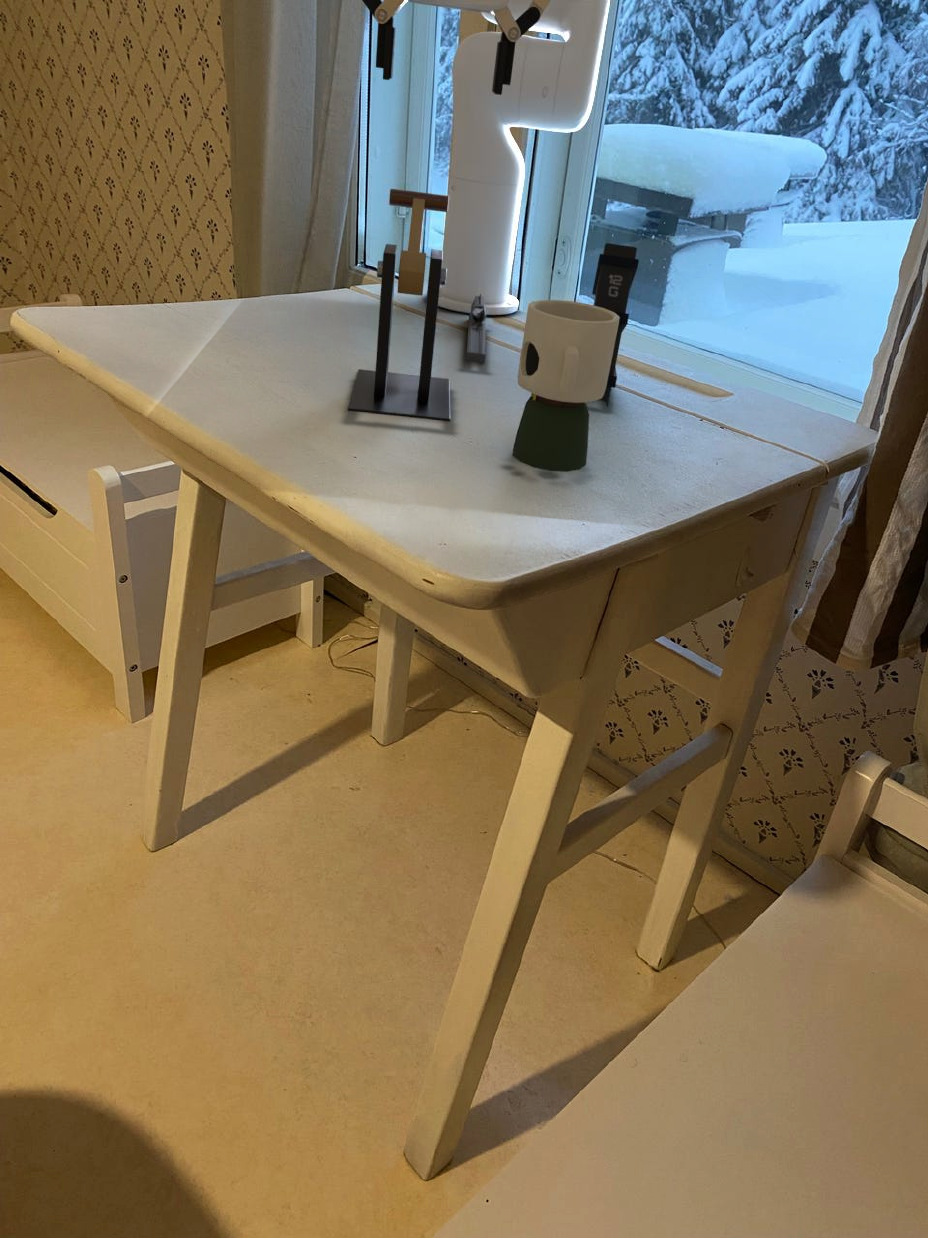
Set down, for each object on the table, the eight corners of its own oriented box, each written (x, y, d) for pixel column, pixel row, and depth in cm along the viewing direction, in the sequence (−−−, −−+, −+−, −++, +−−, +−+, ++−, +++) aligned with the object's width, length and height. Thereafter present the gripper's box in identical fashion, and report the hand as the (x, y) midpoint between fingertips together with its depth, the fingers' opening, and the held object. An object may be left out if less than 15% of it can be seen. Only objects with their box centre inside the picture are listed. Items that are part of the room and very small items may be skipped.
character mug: (505, 441, 82) (527, 289, 76) (584, 451, 83) (613, 300, 76) (504, 488, 73) (528, 320, 66) (593, 500, 73) (627, 333, 67)
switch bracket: (357, 381, 92) (366, 233, 85) (448, 391, 93) (464, 245, 86) (347, 422, 82) (355, 257, 75) (448, 433, 83) (466, 270, 76)
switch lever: (389, 204, 89) (390, 180, 87) (447, 211, 89) (449, 187, 87) (378, 290, 81) (379, 267, 79) (441, 298, 82) (443, 274, 80)
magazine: (574, 399, 90) (602, 241, 88) (570, 418, 103) (594, 280, 101) (613, 405, 89) (641, 246, 88) (603, 423, 102) (628, 285, 101)
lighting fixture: (488, 375, 100) (493, 336, 98) (464, 373, 100) (468, 333, 97) (488, 331, 116) (492, 296, 114) (467, 328, 116) (471, 293, 113)
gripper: (567, -139, 77) (535, 98, 85) (357, -172, 75) (346, 73, 84) (580, -157, 70) (544, 101, 79) (350, -193, 69) (339, 74, 77)
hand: (442, 86), depth 81 cm, fingers open, 9 cm apart
